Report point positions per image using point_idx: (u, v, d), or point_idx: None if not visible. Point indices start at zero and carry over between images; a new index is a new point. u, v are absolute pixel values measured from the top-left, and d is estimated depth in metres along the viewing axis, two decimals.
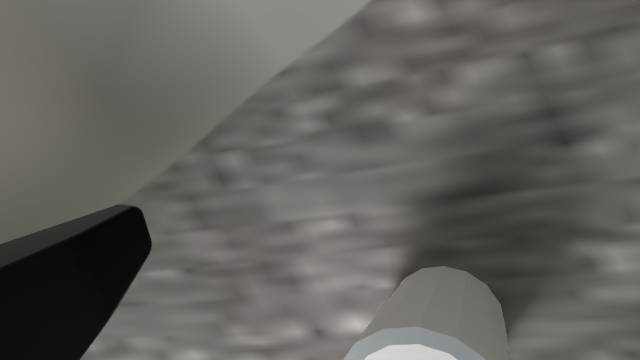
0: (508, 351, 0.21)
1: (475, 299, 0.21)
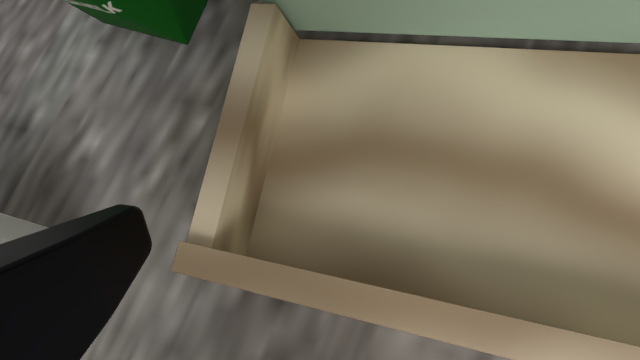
0: (37, 227, 0.25)
1: None
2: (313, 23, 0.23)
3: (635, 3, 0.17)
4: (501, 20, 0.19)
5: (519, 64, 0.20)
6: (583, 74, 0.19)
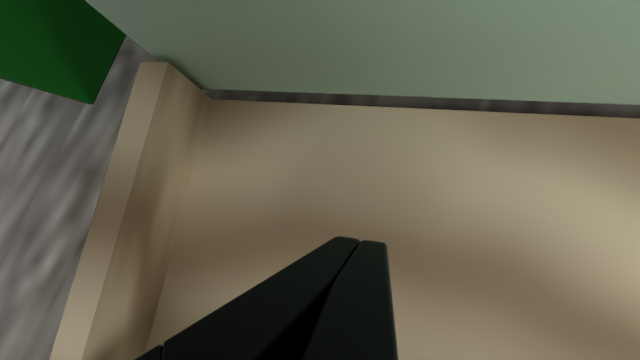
0: None
1: None
2: (223, 82, 0.19)
3: (610, 58, 0.12)
4: (444, 79, 0.15)
5: (472, 130, 0.16)
6: (551, 143, 0.15)
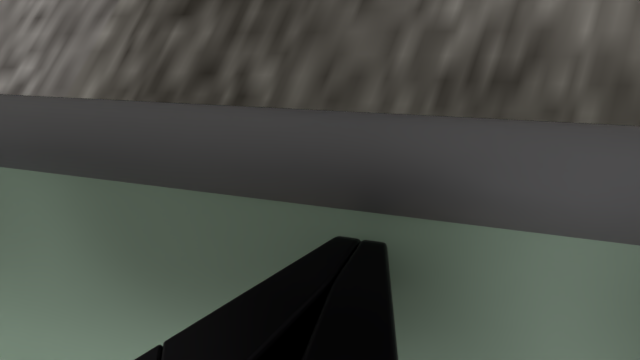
0: None
1: None
2: None
3: None
4: None
5: None
6: None
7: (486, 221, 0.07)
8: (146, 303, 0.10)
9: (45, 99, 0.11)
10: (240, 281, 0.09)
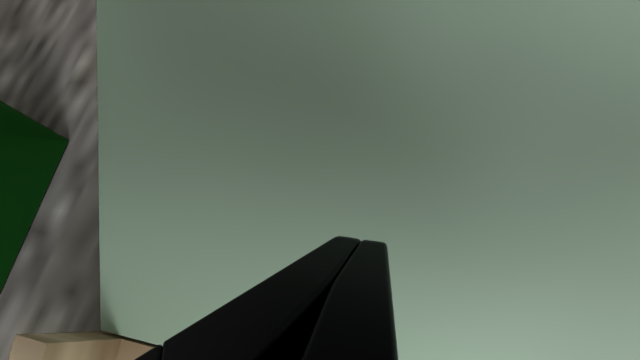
0: None
1: None
2: (146, 322, 0.16)
3: (591, 350, 0.11)
4: None
5: None
6: None
7: None
8: (252, 68, 0.13)
9: None
10: (331, 34, 0.13)
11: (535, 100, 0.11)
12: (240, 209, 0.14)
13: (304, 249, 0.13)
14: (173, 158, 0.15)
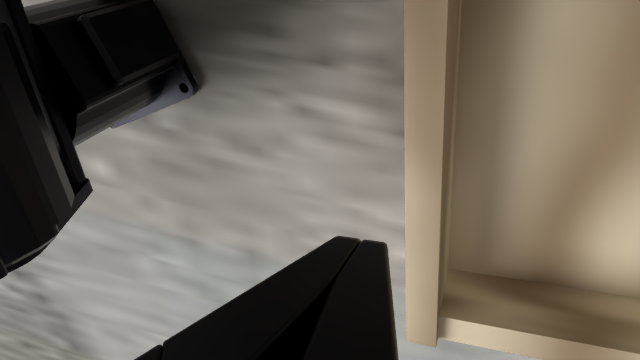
0: None
1: None
2: None
3: None
4: None
5: None
6: None
7: None
8: None
9: None
10: None
11: None
12: None
13: None
14: None
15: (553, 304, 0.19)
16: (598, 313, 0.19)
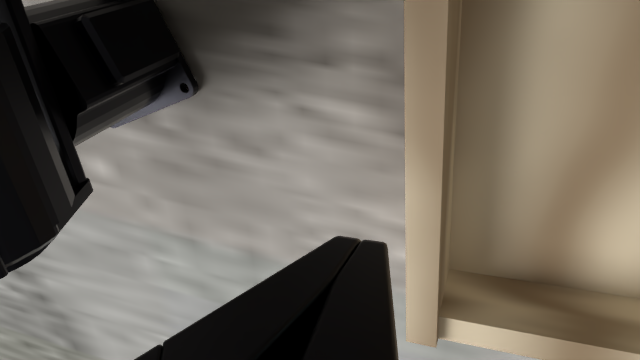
0: None
1: None
2: None
3: None
4: None
5: None
6: None
7: None
8: None
9: None
10: None
11: None
12: None
13: None
14: None
15: (553, 304, 0.19)
16: (598, 313, 0.19)
